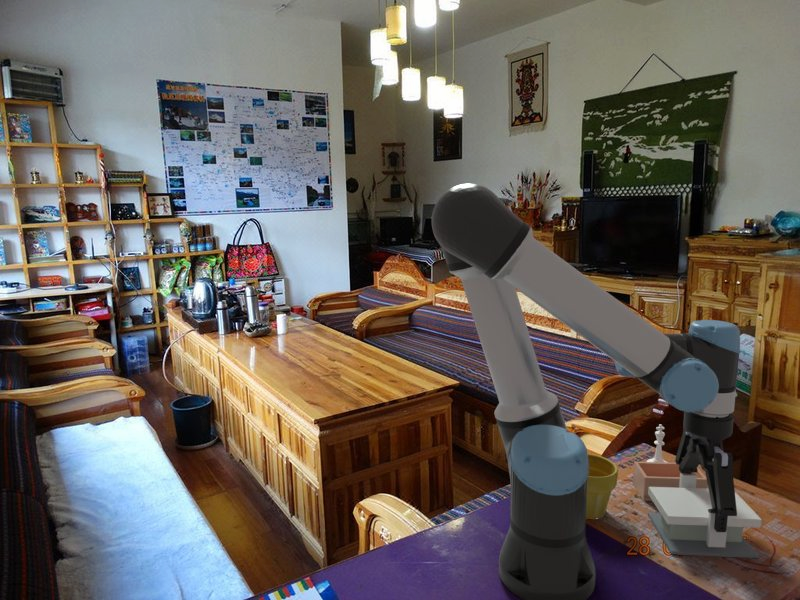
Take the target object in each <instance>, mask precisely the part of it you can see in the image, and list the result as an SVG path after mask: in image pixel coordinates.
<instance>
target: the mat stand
mask: <svg viewBox="0 0 800 600" xmlns="http://www.w3.org/2000/svg"><path fill="white" fill-rule="evenodd" d="M647 516H649V517H650V519H651V520H650V519H649V520H650V522H651V521H652V522H651V523H653V524H654V525H653V524H652V525H653V527H654V526H655V527H654V528H656V529H657V530H656V529H655V530H656V532H657V531H658V532H657V534H658V533H659V534H660V535H659V534H658V535H659V537H660V536H661V537H660V539H661V540H662V541H664V542H663V543H664V545H665V544H666V545H665V546H667V547H666V548H667V550H668V551H670V552H669V553H670V555H673V554H677V555H680V556H697V557H701V556H703V557H723V558H725V557H726V558H742V559H743V558H744V559H745V558H746V559H759V553H758V552H757V551H756V550H755V549H754V548H753V547H752V545H751V544H750V543H749V542H748V541H747V540H746V539H745V537H744V536H743V534H744V533H743V531H744V527H729V526H727V534H726V546H725V547H708V546H707V544H706V543H707V530H708V526H703V525H677V524H667V522H666V521H665V519H664V518H663V516H662V515H661V513H660V512H647ZM649 517H648V518H649Z"/></svg>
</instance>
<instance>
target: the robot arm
mask: <svg viewBox="0 0 800 600" xmlns="http://www.w3.org/2000/svg"><path fill="white" fill-rule="evenodd" d="M431 228H432V233H433V235H434V238H435V240H436V241H437V243H438V244H439V245H440V247H441V249H442V253H443V255H444V259H445V261H446V266H447V269H448V272H449V273H450V274H452V275H454V276H455V277H457V278H459V280H460V281H461V285H462V288H463V291H464V294H465V297H466V301H467V304H468V306H469V309H470V313H471V316H472V319H473V322H474V325H475V329H476V332H477V336H478V338H479V341H480V344H481V348H482V352H483V355H484V358H485V361H486V364H487V367H488V370H489V373H490V377H491V379H492V383H493V387H494V390H495V392H496V395H497V399H498V402H499V403H498V404H497V406H496V408H495V410H494V413H493V414H494V417H495V420H496V423H497V426H498V431H499V433H500V436H501V440H502V442H503V443H502V444H503V447H504V450H505V455H506V461H507V467H508V473H509V479H510V484H509V485H510V502H509V504H510V507H509V509H510V513H509V514H510V515H509V516H510V517H509V519H510V520H509V522H510V523H509V528H508V531H507V533H506V536H505V539H504V541H503V543H502V546H501V549H500V552H499V556H498V574H499V577H500V580H501V581H502V583H503V584H504V586H505V587H506V588H507V589H508V590H509V591H510V593H513V594H514V595H516V596H517V597H519V598H520V599H523V600H587V599H589V598H590V596H591V595H592V594H593V592H594V590H595V586H596V567H595V563H594V560H593V557H592V553H591V550H590V547H589V545H588V541H587V537H586V522H587V519H586V503H587V479H588V473H589V460H588V454H589V453H588V449H587V446H586V443H584V441H583V439H582V438H580V437H579V436H578V435H577V434H576V433H574V432H569V430H568V428H567V425H566V422H565V418H564V415H563V412H562V408H561V406H560V402H559V399H558V396H557V395H556V394H554V393H553V392H550V391H549V390H547V388H546V385H545V382H544V378H543V375H542V371H541V368H540V366H539V362H538V358H537V355H536V351H535V349H534V346H533V343H532V342H533V341H532V339H531V336H530V332H529V329H528V325H527V322H526V319H525V316H524V315H525V314H524V312H523V309H522V306H521V302H520V298H519V295H518V292H520V293H521V294H523V295H524V296H526V297H527V298H528V299H530V300H531V301H532V302H534V303H535V304H536V305H537V306H539V307H541V309H543V310H545V311H546V312H548V313H549V314H550V315H552V317H554V318H556V319H557V320H558V321H559V322H561V323H562V324H564V325H565V326H566V327H568V328H569V329H570V330H571V331H573V332H575V334H577V335H579V336H580V337H582V339H584V340H585V341H586V342H588V343H590V345H593V346H594V347H595V348H596V349H598V350H599V351H600V352H602V353H603V354H604V355H606V356H607V357H609V358H610V359H612V361H613V362H614V365H615V369H616V371H617V373H618V374H619V375H620V376H621V377H628V378H629V377H631V378H633V379H636V378H637V379H638V380H639V381H641V382H642V383H643V384H645V386H648V387H649V388H650V389H652V390H653V391H654V392H655V393H657V394H658V395H659V396H660V397H662V399H663V400H664V401H665V402H666V403H667V404H669V405H670V406H672V407H674V408H675V409H677V410H679V411H682V412H683V428H682V436H681V438H680V443H679V445H678V449H677V452H676V457H675V459H674V463H676V464H678V465H679V471H680V472H681V473H680V482H679V488H696V479H697V475H696V474H691V473H692V472H697V471H698V469H699V465H700V466H701V468H700V469H702V471H704V473H705V477H706V478H707V483H708V487H707V489H709V494H710V499H711V504H712V509H708V512H709V518H708V530H707V543H706V544H707V546H708V547H725V546H726V534H727V522H728V516H737V508H736V499H735V492H736V491H735V490H736V489H735V482H734V473H733V472H734V471H733V470H734V469H733V461H734V455H733V453H731V452H724V451H725V450H724V446H723V441H724V440H725V439H727V438H729V437H731V436H732V434H733V430H734V421H735V420H734V419H735V416H734V414H733V412H734V411H735V403H736V398H737V397H738V393H737V392H736V391H737V379H738V369H739V360H740V354H741V332H740V328H739V327H738V326H737V325H736V324H733V323H732V322H727V321H724V320H718V319H717V320H716V319H715V320H714V319H701V320H699V319H698V320H694V321H692V322H691V323H690V325H689V329H688V332H683V333H664V332H662V331H661V330H659V329H657V328H656V327H655V326H654V325H653V324H651V323H650V322H648V320H645V319H644V318H642V316H640V315H639V314H637V313H636V312H635V311H633V310H632V309H631V308H629V307H628V306H626V305H625V304H624V303H622V302H621V300H619V299H617V298H616V297H615V296H613V295H612V294H610V292H607V291H606V290H605V289H604V288H602V287H601V286H600V285H598V284H597V283H596V282H594V281H593V280H591V278H588V277H587V276H586V275H584V274H583V273H582V272H580V271H579V270H578V269H577V268H575V267H574V266H573V265H571V264H570V263H568V262H567V261H566V260H564V259H563V258H562V257H560V256H559V255H557V254H556V253H555V252H554V251H552V250H551V249H549V248H548V247H547V246H546V245H544V244H543V243H541V242H540V241H538V240H537V238H535V236H534V232H533V228H532V226H530V225H529V224H527V223H526V222H525V221H524V220H522V219H521V218H519V217H518V216H517V214H515V213H514V212H513V211H512V210H511V209H510V208H509V207H508V206H507V205H506V204H505V203H504V202H503V201H502V200H501V199H500V198H499V197H498V195H497V194H495V192H493V191H492V190H491V189H489V188H488V187H486V186H484V185H480V184H477V183H461V184H458V185H455V186H453V187H451V188H449V189H448V190H446V191H445V192H444V193H443V194H441V195H440V197H439V198H438V199H437V202H436V203H435V204H434V208H433V210H432V214H431ZM517 291H518V292H517ZM697 468H698V469H697Z"/></svg>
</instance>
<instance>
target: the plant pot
mask: <svg viewBox="0 0 800 600" xmlns="http://www.w3.org/2000/svg"><path fill="white" fill-rule="evenodd" d="M588 460H589V473H588V479H587V503H586V520H588V519H596V518H600V519H602V518H603V517H604V516H605V515H604V514H606V511H607V509H608V508H607V507H608V505H609V501H610V499H611V498H610V497H611V496H612V495H611V494H612V491H613V490H614V489H616V487H617V485H618V475H619V474H618V473H619V470H618V465H616V464H615V463H614V462H613V461H612V460H610V459H608V458H606V457H605V456H601V455H598V454H593V453H588ZM602 516H603V517H602ZM601 517H602V518H601ZM596 520H597V519H596Z"/></svg>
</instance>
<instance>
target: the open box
mask: <svg viewBox="0 0 800 600" xmlns="http://www.w3.org/2000/svg"><path fill="white" fill-rule="evenodd" d="M697 469H698V471H697V472H692V473H691V474H696V475H697V479H696V488H704V489H708V483H707V478H706V475H705V474H704V473H703V472H702V471H701V470H700V468H699V467H697ZM680 473H681V472H680V471H679V465H678V464H676V463H675V462H668V463H665V462H647V461H634V462H633V474H632V475H633V477H632V478H633V479H632V485H633V486H634V488H635V489H636V491H637V493H638V495H640V497H641V499H642V500H643V502H645V501H646V502H653V501H652V499H651V498H650V496H649V495H648V487H673V488H679V482H680Z"/></svg>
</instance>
